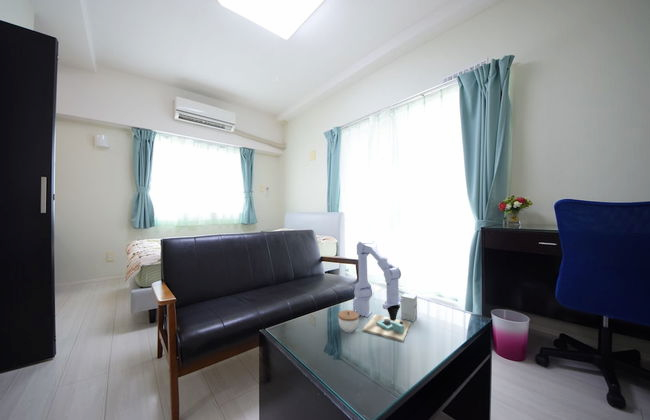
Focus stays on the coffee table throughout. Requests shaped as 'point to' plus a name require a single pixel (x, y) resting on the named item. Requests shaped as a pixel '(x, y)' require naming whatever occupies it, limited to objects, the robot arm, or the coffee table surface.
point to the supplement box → (409, 307)
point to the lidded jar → (348, 320)
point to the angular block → (391, 326)
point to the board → (375, 329)
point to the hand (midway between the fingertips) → (393, 319)
